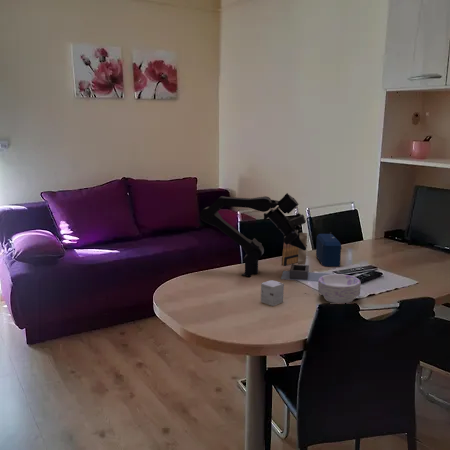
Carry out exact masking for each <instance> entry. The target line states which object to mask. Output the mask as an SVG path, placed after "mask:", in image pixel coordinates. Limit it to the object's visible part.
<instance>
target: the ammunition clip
mask: <svg viewBox="0 0 450 450" xmlns="http://www.w3.org/2000/svg"><path fill="white" fill-rule="evenodd" d="M282 248H283V249H282V256H281V266H283V267H285V266H286V267H287V266H291V265H292V264H294V265H296V264H298V251H299V248H298V247H295V246H293V245H290V244H287V245H286V244H285V243H284V242H283V247H282Z"/></svg>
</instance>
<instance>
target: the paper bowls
mask: <svg viewBox="0 0 450 450" xmlns="http://www.w3.org/2000/svg"><path fill="white" fill-rule="evenodd" d="M328 274H329V275H324V276H321V277H320V278H319V280H318V282H317V285H318V287H317V290H318V293H319V294H320V295H322V296H323V298H324V300H326V301H327V302H328V303H331V304H336V303H346V304H349V303H352V302H353V301H354V299H355V298H357V297H359V296H360V295H361V289H362V287H361V285H362V283H361V280H360V279H359V278H357V277H356V276H353V275H349V274H342V273H341V274H340V273H328Z"/></svg>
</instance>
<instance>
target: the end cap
mask: <svg viewBox="0 0 450 450" xmlns="http://www.w3.org/2000/svg"><path fill="white" fill-rule="evenodd" d="M289 271H290V279H302V280H308V274H309V272H310V265H308V264H305V265H300V264H291V265H290V268H289Z"/></svg>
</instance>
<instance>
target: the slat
mask: <svg viewBox="0 0 450 450" xmlns="http://www.w3.org/2000/svg"><path fill="white" fill-rule="evenodd" d="M300 240H301V241H302V243H303V244H304V246H305V247H306V250H302V249H300V248H299V251H298V263H297V265H306V263H307V247H308V245H307V244H308V243H307V242H308V233H307V232H301V233H300Z"/></svg>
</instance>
